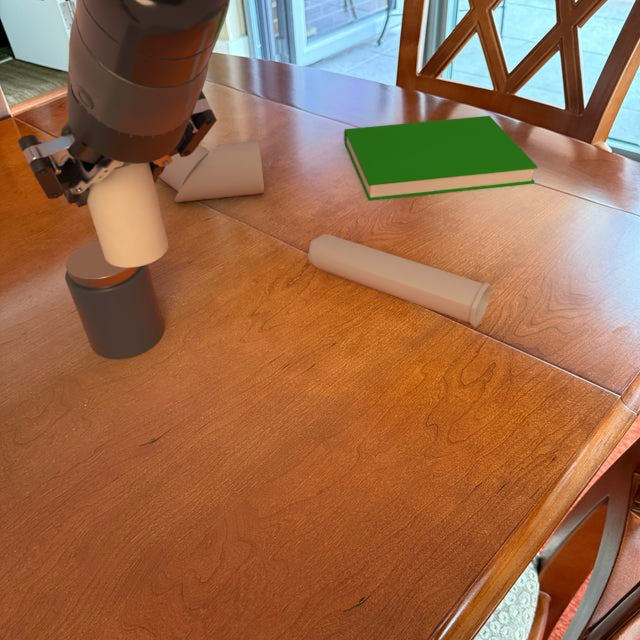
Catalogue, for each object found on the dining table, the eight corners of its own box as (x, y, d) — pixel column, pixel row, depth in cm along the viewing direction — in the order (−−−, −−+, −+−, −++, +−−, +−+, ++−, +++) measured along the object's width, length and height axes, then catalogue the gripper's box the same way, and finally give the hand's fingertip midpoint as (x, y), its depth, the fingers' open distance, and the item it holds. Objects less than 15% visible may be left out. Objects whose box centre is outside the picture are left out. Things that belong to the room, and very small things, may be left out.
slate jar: (106, 370, 69) (77, 292, 62) (79, 330, 75) (49, 254, 68) (176, 337, 73) (157, 260, 66) (146, 302, 79) (124, 227, 72)
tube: (296, 249, 80) (473, 310, 69) (317, 221, 82) (492, 275, 71) (306, 274, 84) (473, 334, 73) (325, 246, 86) (491, 301, 75)
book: (534, 183, 100) (537, 166, 98) (368, 200, 97) (368, 183, 95) (486, 129, 117) (488, 114, 115) (344, 143, 114) (344, 127, 112)
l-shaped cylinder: (138, 215, 94) (266, 201, 96) (124, 146, 89) (258, 133, 91) (150, 185, 109) (260, 174, 111) (138, 126, 104) (253, 115, 106)
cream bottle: (119, 275, 50) (74, 132, 42) (95, 247, 54) (50, 109, 46) (179, 252, 53) (148, 112, 45) (152, 226, 56) (119, 92, 48)
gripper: (214, -3, 39) (169, 122, 54) (-19, 42, 32) (4, 169, 48) (266, 101, 39) (206, 197, 54) (44, 166, 33) (47, 254, 48)
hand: (112, 184), depth 51 cm, fingers closed on cream bottle, 5 cm apart
